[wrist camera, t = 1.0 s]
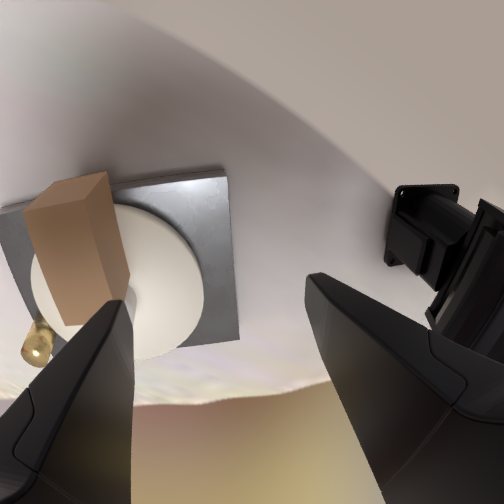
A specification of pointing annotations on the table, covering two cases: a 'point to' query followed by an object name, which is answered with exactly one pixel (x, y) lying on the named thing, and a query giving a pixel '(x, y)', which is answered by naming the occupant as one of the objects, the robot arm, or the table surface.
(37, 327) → the gold rounded piece
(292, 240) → the table surface
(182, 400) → the table surface
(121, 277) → the flange
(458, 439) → the robot arm
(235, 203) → the table surface
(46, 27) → the table surface
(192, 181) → the base plate
